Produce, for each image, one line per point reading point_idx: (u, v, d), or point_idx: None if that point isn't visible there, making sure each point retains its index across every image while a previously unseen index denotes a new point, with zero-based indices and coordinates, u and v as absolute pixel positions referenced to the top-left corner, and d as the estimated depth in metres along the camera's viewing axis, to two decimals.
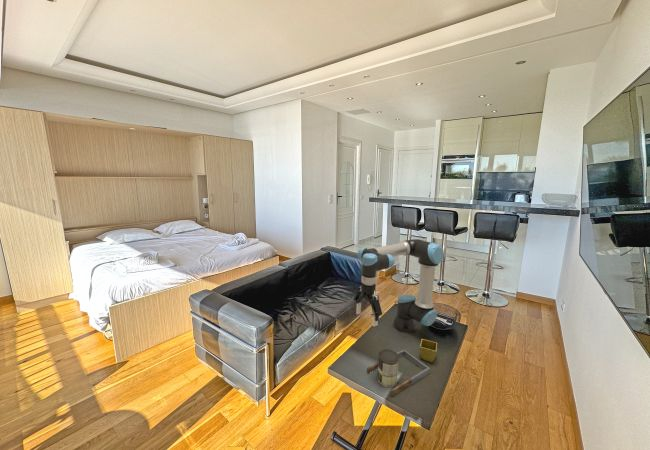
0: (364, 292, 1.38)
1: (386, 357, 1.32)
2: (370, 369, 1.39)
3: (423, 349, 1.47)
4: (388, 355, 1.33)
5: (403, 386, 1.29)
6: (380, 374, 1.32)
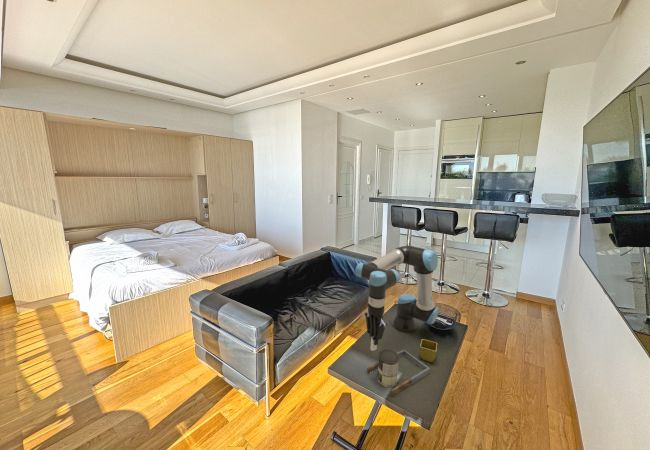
0: None
1: (386, 357, 1.32)
2: (370, 369, 1.39)
3: (423, 349, 1.47)
4: (388, 355, 1.33)
5: (403, 386, 1.29)
6: (380, 374, 1.32)
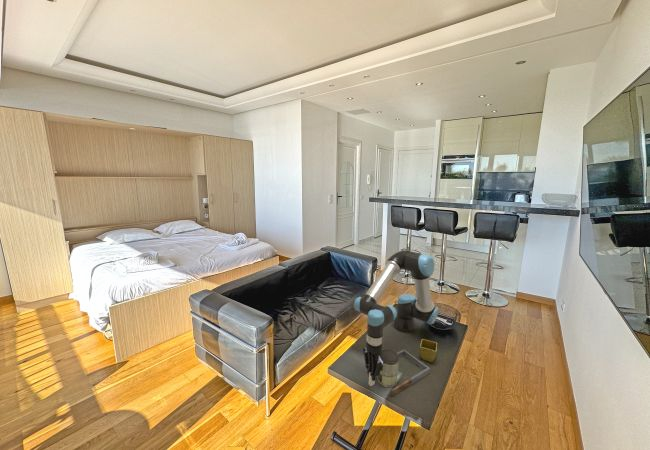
0: None
1: (386, 357, 1.32)
2: None
3: (423, 349, 1.47)
4: (388, 355, 1.33)
5: (403, 386, 1.29)
6: (380, 374, 1.32)
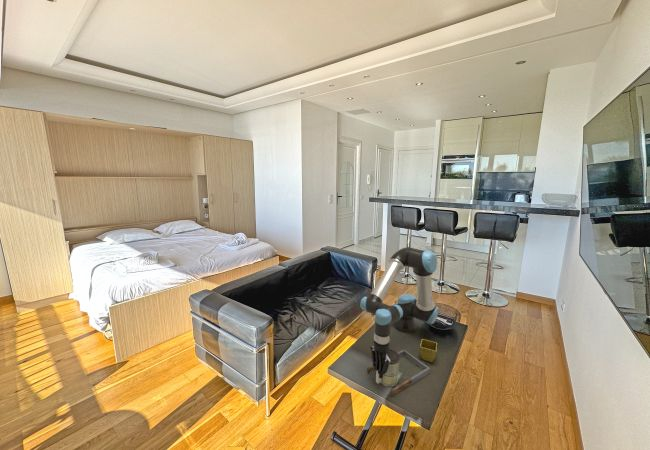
0: None
1: None
2: (370, 369, 1.39)
3: (423, 349, 1.47)
4: (389, 355, 1.33)
5: (403, 386, 1.29)
6: None
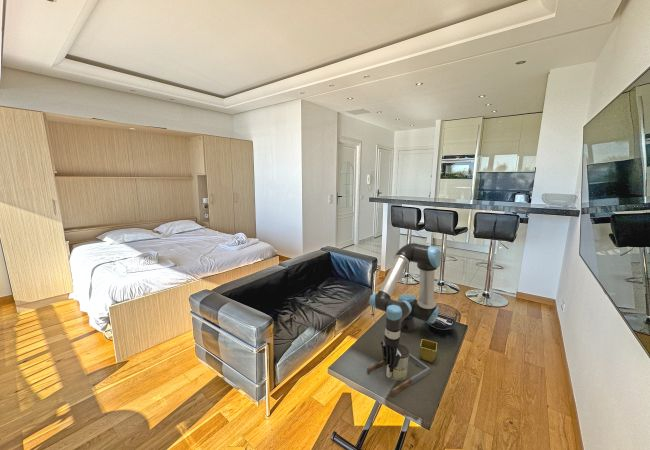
0: None
1: None
2: (370, 369, 1.39)
3: (423, 349, 1.47)
4: (399, 350, 1.37)
5: (403, 386, 1.29)
6: None
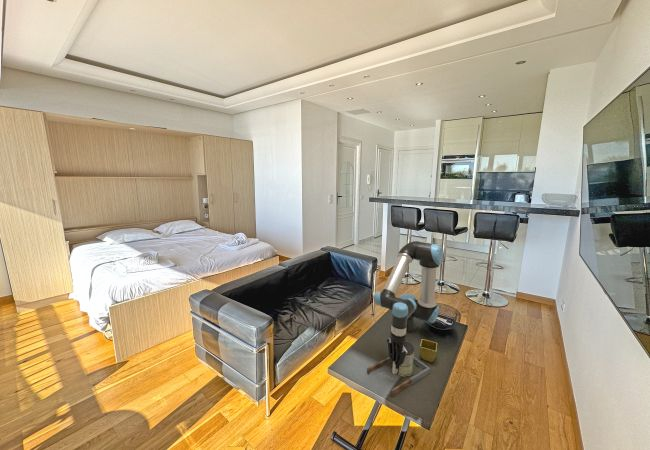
0: None
1: None
2: (370, 369, 1.39)
3: (423, 349, 1.47)
4: None
5: (403, 386, 1.29)
6: None
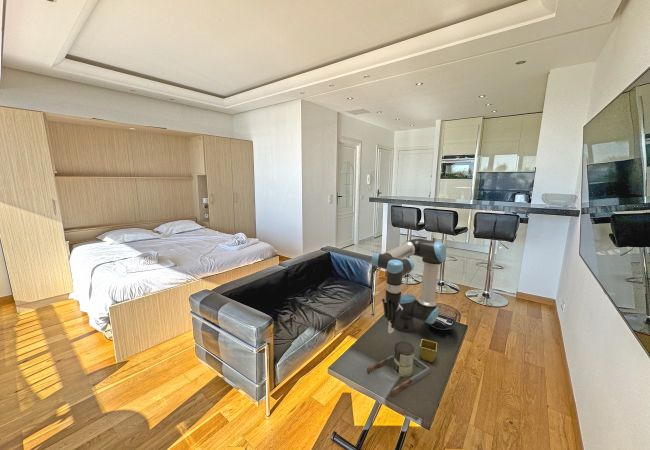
0: None
1: (402, 348, 1.39)
2: (370, 369, 1.39)
3: (423, 349, 1.47)
4: (404, 347, 1.40)
5: (403, 386, 1.29)
6: (397, 365, 1.38)
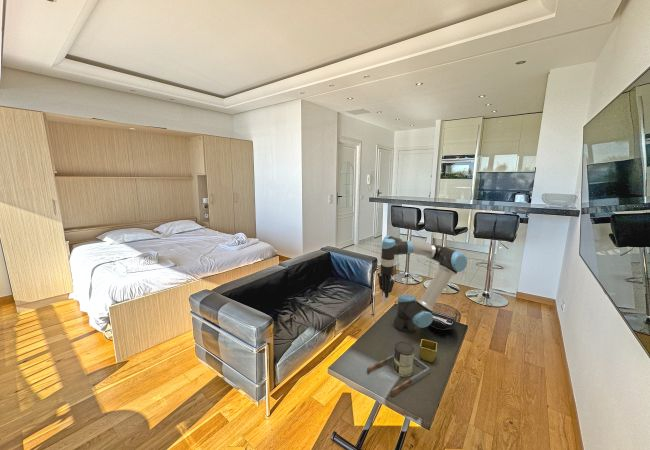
0: (383, 271, 1.54)
1: (402, 348, 1.39)
2: (370, 369, 1.39)
3: (423, 349, 1.47)
4: (404, 347, 1.40)
5: (403, 386, 1.29)
6: (397, 365, 1.38)
